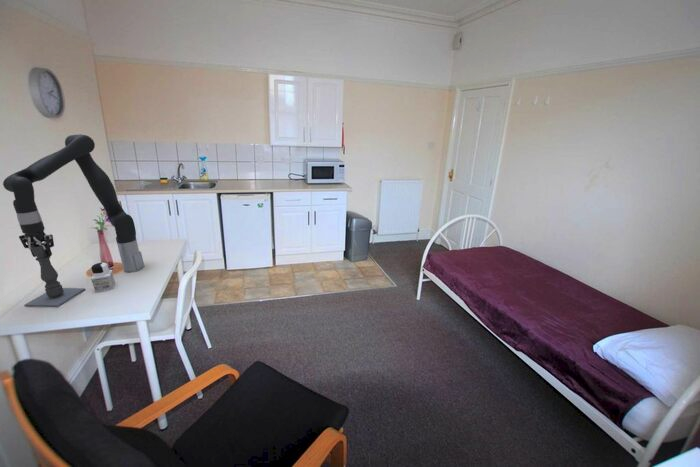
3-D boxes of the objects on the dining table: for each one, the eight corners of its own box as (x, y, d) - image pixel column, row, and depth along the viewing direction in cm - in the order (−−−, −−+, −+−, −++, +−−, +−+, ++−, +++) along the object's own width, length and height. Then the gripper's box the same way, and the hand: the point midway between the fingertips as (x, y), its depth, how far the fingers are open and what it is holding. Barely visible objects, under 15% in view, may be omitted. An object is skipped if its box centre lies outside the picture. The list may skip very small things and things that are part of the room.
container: (94, 292, 165) (87, 268, 161) (97, 285, 172) (90, 262, 168) (113, 288, 169) (107, 265, 164) (115, 282, 175) (109, 260, 171)
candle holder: (54, 297, 156) (36, 248, 148) (43, 296, 158) (25, 247, 149) (67, 290, 162) (51, 243, 154) (56, 289, 163) (40, 242, 155)
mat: (85, 290, 168) (85, 288, 167) (58, 307, 153) (57, 305, 152) (55, 289, 168) (54, 287, 168) (24, 306, 153) (24, 304, 153)
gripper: (53, 218, 151) (64, 253, 157) (23, 218, 152) (35, 253, 157) (38, 224, 144) (50, 259, 150) (6, 223, 145) (19, 259, 150)
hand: (42, 256), depth 153 cm, fingers closed on candle holder, 5 cm apart
